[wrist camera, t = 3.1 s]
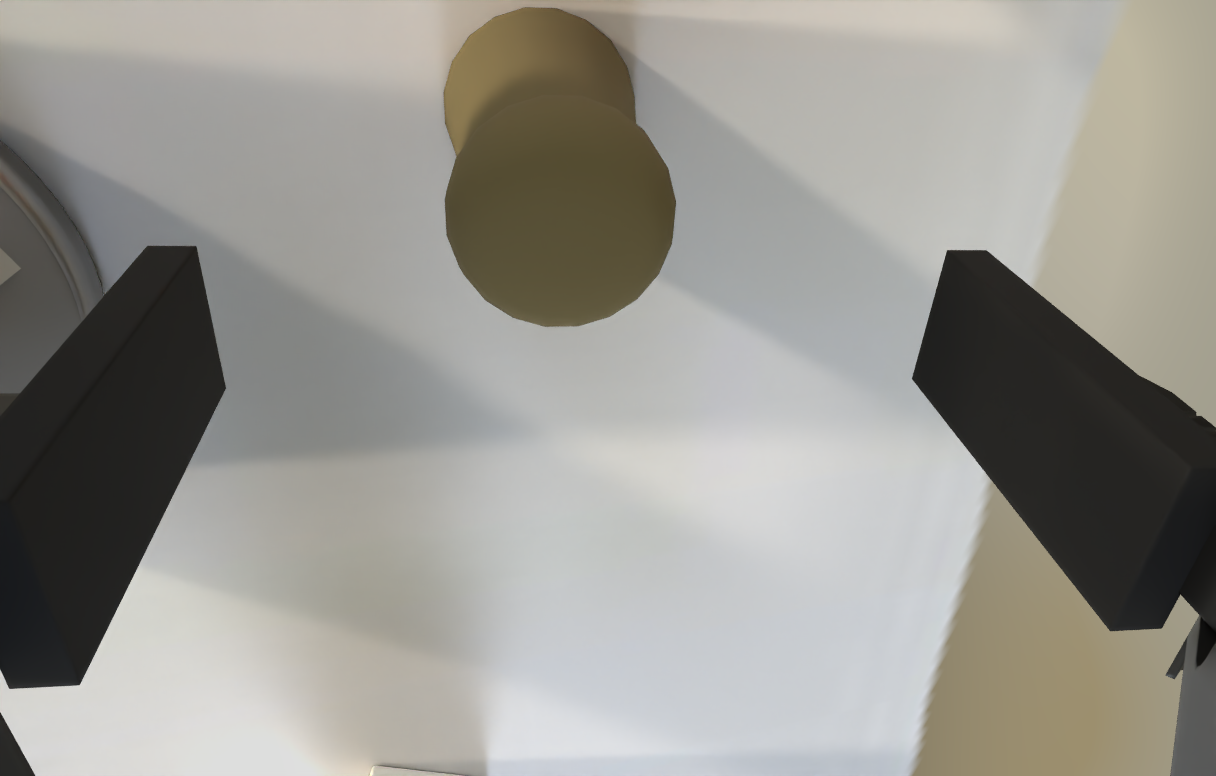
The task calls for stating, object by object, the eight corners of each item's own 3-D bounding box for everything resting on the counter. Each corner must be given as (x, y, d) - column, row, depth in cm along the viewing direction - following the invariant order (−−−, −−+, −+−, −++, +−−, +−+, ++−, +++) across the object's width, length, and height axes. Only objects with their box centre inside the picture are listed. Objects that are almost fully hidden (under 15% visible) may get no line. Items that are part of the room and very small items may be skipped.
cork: (653, 28, 27) (742, 126, 17) (613, 214, 30) (670, 382, 20) (455, -13, 25) (436, 69, 16) (433, 185, 28) (407, 350, 19)
